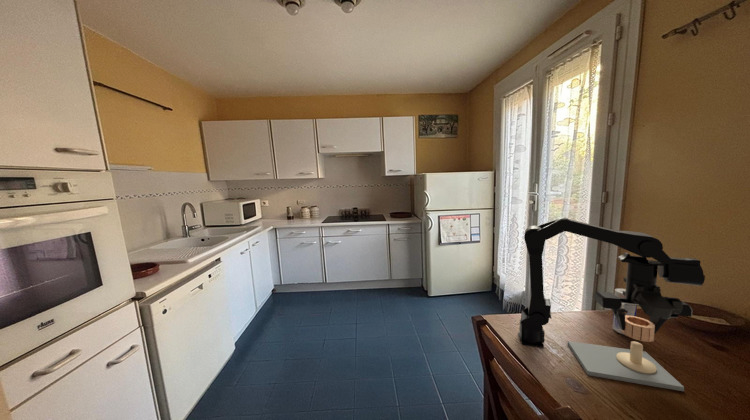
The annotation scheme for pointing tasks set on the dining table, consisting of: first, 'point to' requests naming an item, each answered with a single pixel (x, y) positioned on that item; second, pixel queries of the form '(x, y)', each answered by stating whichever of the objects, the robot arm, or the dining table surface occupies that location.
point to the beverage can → (629, 308)
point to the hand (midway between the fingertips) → (637, 331)
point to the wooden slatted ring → (639, 328)
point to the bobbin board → (623, 364)
